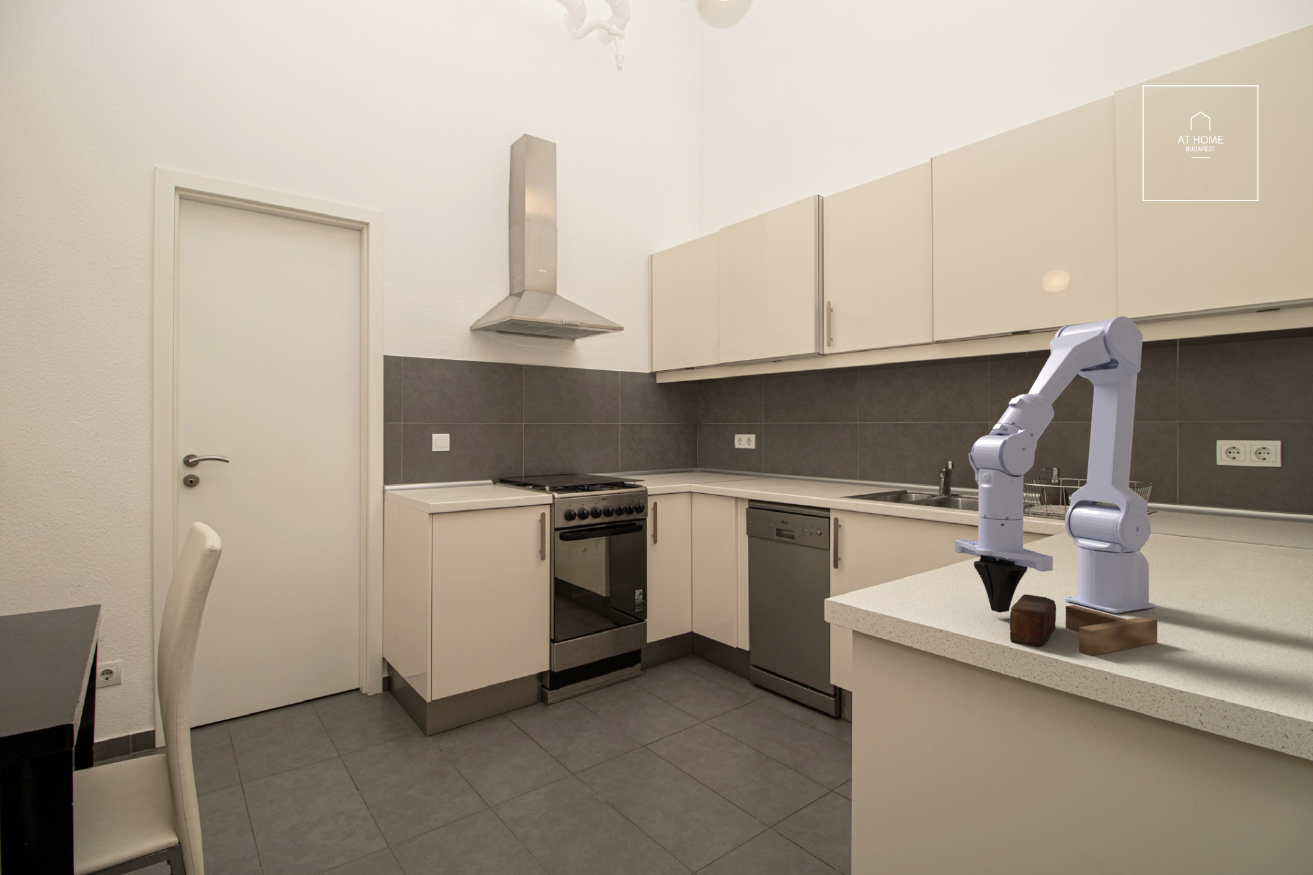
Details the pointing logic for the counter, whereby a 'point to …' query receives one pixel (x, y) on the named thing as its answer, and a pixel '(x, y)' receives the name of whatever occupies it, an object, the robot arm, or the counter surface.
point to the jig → (1109, 630)
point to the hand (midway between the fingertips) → (1000, 610)
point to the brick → (1032, 620)
